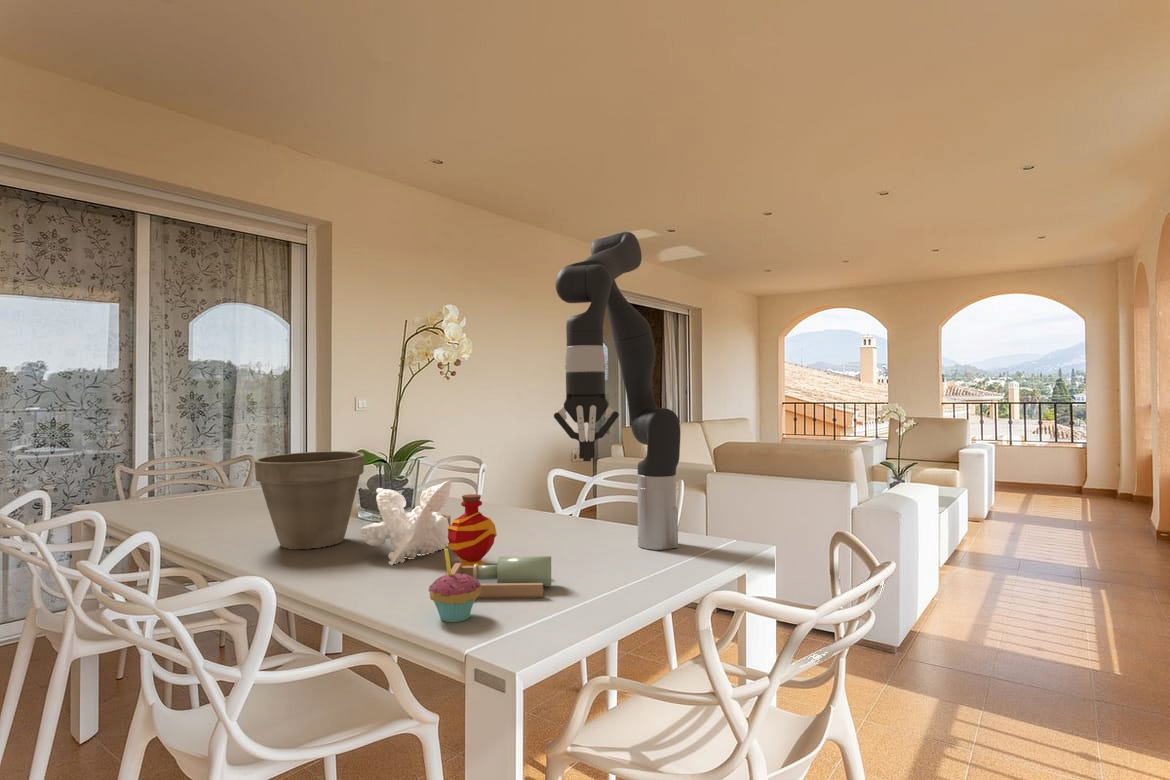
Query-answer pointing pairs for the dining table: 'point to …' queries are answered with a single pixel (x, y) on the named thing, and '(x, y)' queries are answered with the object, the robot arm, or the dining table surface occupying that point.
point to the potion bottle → (471, 533)
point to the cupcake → (454, 594)
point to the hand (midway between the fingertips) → (586, 460)
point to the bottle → (517, 570)
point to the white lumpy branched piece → (410, 523)
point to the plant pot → (310, 495)
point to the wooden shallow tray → (501, 586)
